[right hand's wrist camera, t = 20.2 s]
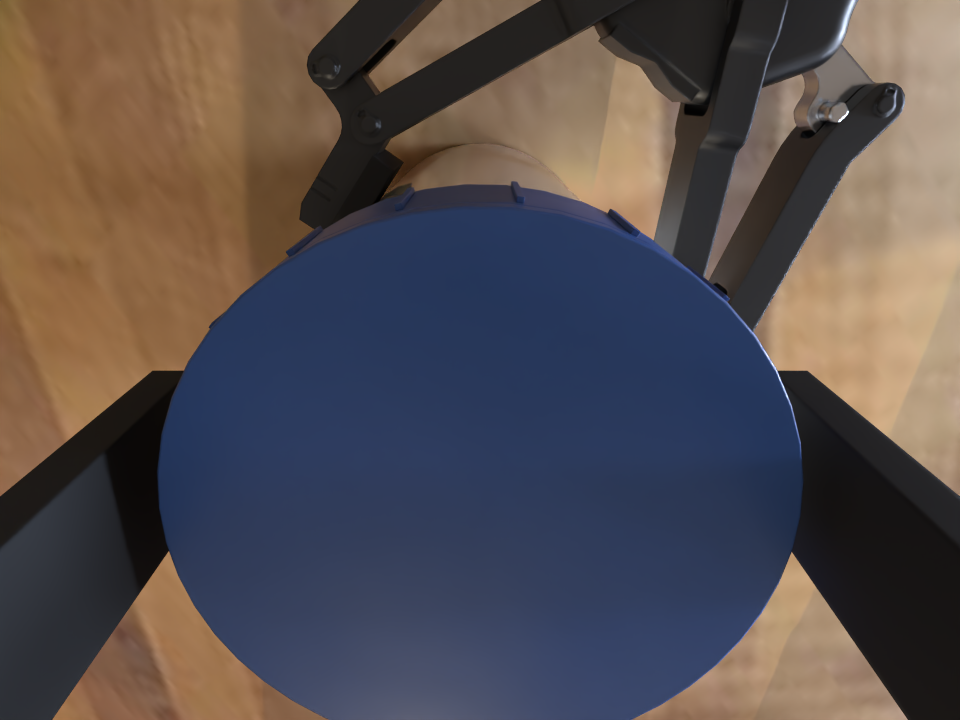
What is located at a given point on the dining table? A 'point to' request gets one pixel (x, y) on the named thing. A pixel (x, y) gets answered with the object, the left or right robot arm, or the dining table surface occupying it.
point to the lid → (480, 466)
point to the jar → (480, 170)
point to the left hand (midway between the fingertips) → (411, 390)
